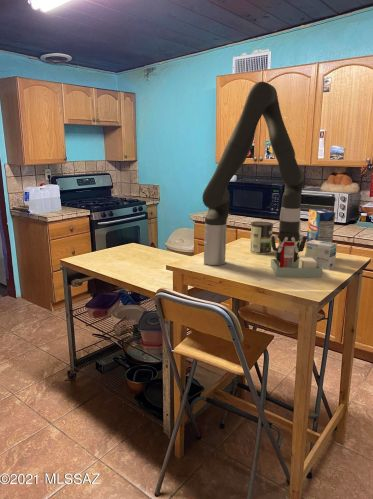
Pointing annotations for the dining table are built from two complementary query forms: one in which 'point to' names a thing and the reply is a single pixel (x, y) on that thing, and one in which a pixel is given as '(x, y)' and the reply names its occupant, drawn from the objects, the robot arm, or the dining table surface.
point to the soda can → (287, 255)
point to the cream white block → (307, 263)
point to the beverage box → (320, 225)
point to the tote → (295, 270)
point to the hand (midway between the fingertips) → (286, 261)
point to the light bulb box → (322, 253)
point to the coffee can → (261, 237)
